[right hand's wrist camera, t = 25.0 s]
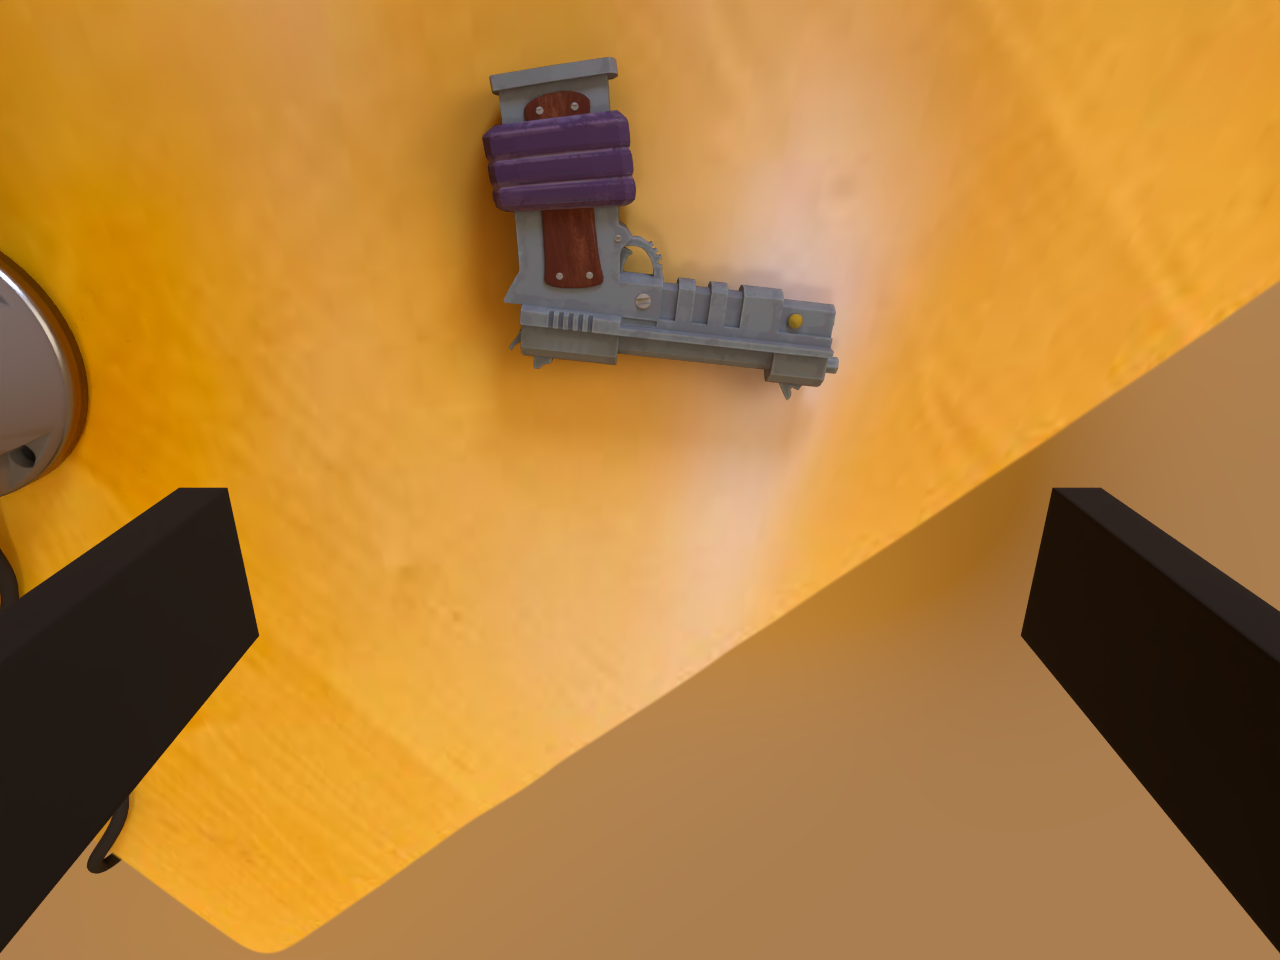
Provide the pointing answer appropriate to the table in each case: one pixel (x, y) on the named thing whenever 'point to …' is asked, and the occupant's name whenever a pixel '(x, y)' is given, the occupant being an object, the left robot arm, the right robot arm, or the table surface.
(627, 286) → the toy gun
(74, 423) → the right robot arm
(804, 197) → the table surface
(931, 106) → the table surface
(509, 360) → the table surface
